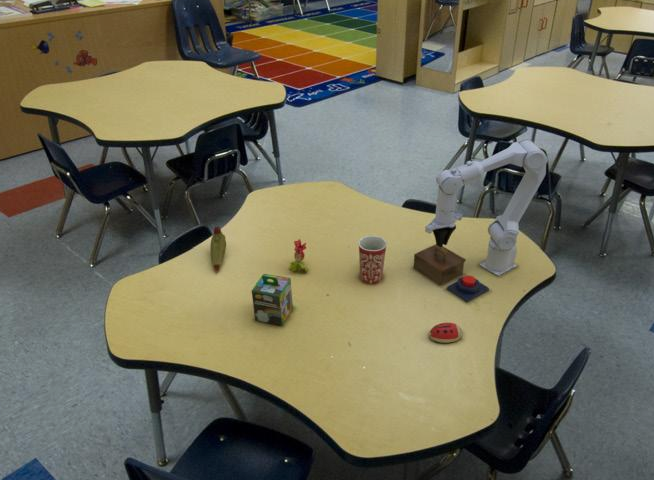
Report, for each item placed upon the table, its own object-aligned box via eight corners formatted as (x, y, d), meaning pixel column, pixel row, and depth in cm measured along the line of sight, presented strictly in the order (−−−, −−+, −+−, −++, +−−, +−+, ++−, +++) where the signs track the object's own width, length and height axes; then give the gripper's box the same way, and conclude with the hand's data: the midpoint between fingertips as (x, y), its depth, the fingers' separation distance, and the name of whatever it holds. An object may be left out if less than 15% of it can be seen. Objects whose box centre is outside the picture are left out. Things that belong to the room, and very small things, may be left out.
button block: (468, 278, 191) (469, 270, 189) (488, 290, 185) (489, 283, 183) (446, 289, 186) (447, 281, 184) (467, 302, 180) (468, 295, 178)
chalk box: (293, 308, 179) (291, 268, 171) (282, 326, 172) (279, 286, 164) (265, 302, 182) (262, 263, 174) (253, 320, 174) (249, 280, 167)
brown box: (435, 258, 201) (436, 245, 198) (462, 274, 192) (464, 261, 190) (413, 268, 196) (414, 255, 193) (440, 286, 187) (441, 272, 185)
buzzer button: (468, 278, 186) (468, 273, 185) (477, 284, 183) (478, 279, 182) (459, 282, 184) (459, 278, 183) (469, 288, 181) (469, 284, 180)
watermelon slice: (466, 341, 165) (467, 331, 163) (433, 347, 163) (434, 337, 161) (456, 326, 171) (457, 316, 169) (424, 331, 169) (425, 322, 167)
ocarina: (224, 274, 195) (221, 248, 190) (208, 274, 195) (205, 249, 190) (228, 242, 212) (225, 218, 207) (213, 242, 212) (210, 219, 207)
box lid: (437, 244, 199) (438, 234, 196) (465, 260, 190) (466, 250, 188) (414, 255, 193) (415, 245, 191) (441, 272, 185) (443, 262, 182)
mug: (384, 286, 188) (386, 251, 181) (356, 284, 189) (357, 249, 182) (386, 264, 198) (387, 230, 191) (359, 262, 199) (360, 229, 192)
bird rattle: (289, 268, 201) (288, 274, 192) (289, 236, 199) (287, 240, 190) (307, 268, 201) (307, 274, 192) (307, 236, 199) (306, 240, 190)
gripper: (438, 220, 175) (434, 257, 183) (471, 206, 183) (466, 242, 190) (421, 211, 180) (418, 248, 188) (454, 197, 187) (450, 233, 195)
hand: (441, 244), depth 189 cm, fingers closed
